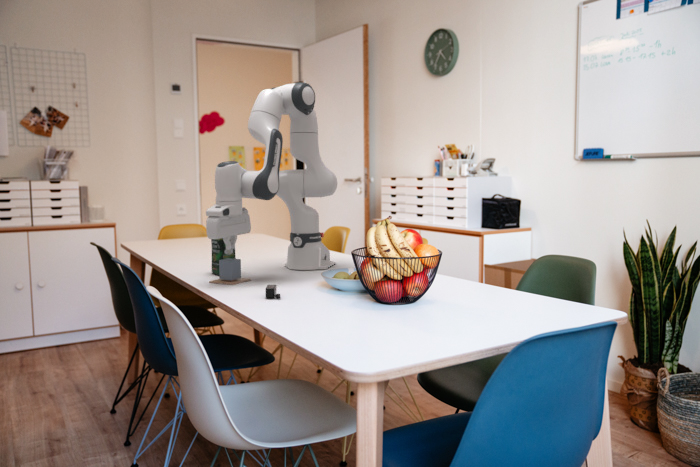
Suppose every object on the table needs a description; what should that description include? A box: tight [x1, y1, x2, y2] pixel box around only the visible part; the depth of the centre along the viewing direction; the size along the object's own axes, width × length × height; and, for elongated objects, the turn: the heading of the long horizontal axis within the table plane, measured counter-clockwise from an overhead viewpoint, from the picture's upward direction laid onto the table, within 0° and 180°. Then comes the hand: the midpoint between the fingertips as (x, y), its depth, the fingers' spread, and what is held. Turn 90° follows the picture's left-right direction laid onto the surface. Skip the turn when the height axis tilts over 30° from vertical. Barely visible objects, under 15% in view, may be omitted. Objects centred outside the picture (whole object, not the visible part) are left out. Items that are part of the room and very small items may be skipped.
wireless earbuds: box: [265, 284, 281, 300], centre depth 172 cm, size 4×7×3 cm, turn 1°
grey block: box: [218, 258, 242, 280], centre depth 197 cm, size 5×5×7 cm
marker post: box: [208, 277, 251, 286], centre depth 198 cm, size 10×10×7 cm
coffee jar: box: [210, 238, 237, 276], centre depth 213 cm, size 10×8×19 cm
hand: (230, 249), depth 197 cm, fingers closed
